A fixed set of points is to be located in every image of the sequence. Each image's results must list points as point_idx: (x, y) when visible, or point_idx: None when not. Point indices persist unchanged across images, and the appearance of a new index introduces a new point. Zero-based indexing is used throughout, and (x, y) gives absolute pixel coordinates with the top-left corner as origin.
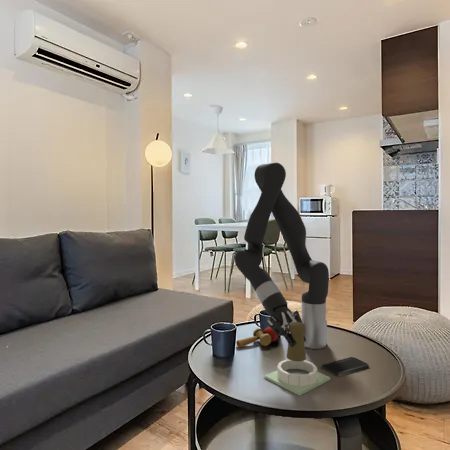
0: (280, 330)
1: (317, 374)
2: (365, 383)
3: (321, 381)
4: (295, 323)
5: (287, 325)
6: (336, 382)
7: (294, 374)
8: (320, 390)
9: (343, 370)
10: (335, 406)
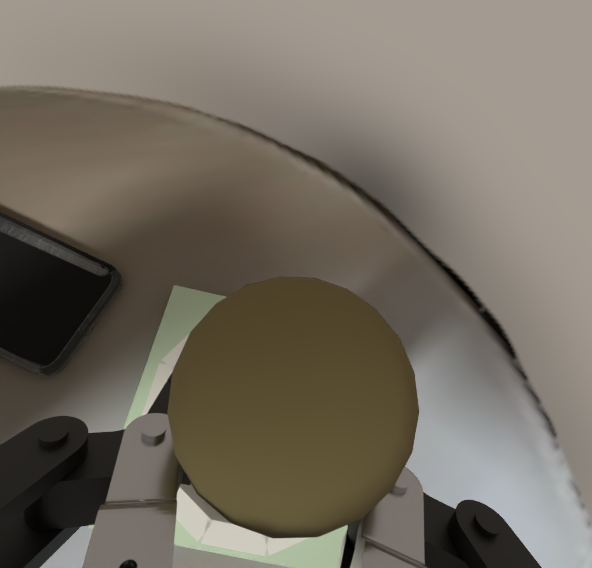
0: (525, 553)
1: (179, 342)
2: (129, 173)
3: None
4: (353, 388)
5: (372, 542)
6: (185, 260)
7: None
8: None
9: (57, 263)
10: (358, 212)
